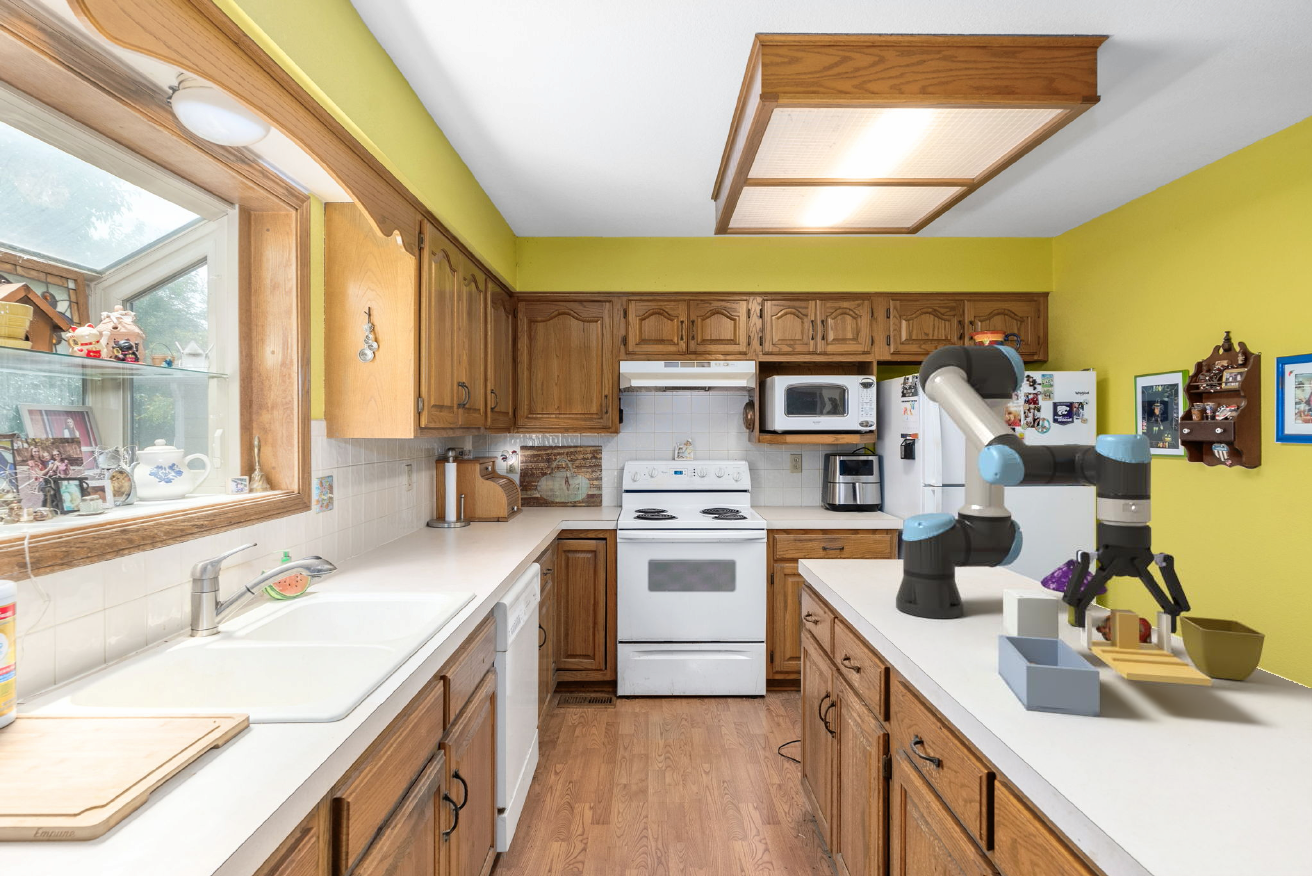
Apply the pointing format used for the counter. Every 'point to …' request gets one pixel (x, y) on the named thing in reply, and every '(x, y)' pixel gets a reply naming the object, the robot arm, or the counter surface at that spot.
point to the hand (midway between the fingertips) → (1124, 648)
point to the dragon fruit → (1144, 630)
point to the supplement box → (1030, 613)
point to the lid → (1142, 655)
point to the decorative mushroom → (1060, 581)
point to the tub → (1049, 675)
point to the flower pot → (1222, 646)
